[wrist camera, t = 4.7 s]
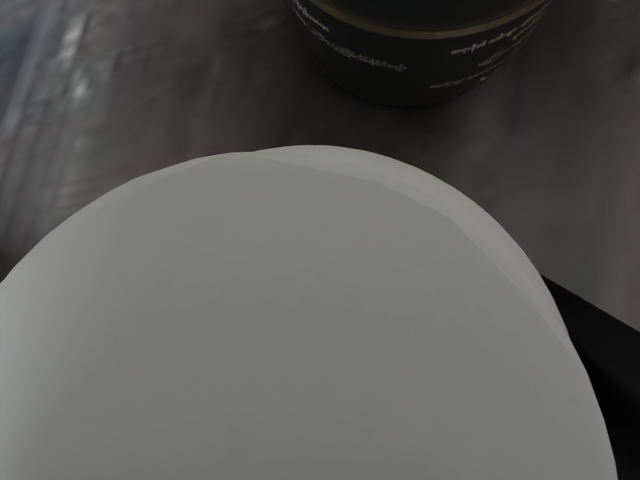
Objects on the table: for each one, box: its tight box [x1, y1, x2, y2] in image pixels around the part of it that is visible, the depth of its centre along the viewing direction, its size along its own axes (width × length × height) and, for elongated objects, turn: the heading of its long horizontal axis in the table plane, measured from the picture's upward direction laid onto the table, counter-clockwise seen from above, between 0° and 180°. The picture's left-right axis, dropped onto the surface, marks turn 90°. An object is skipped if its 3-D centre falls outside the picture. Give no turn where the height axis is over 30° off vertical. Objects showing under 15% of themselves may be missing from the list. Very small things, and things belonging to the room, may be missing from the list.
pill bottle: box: [0, 145, 618, 480], centre depth 9 cm, size 8×7×14 cm
